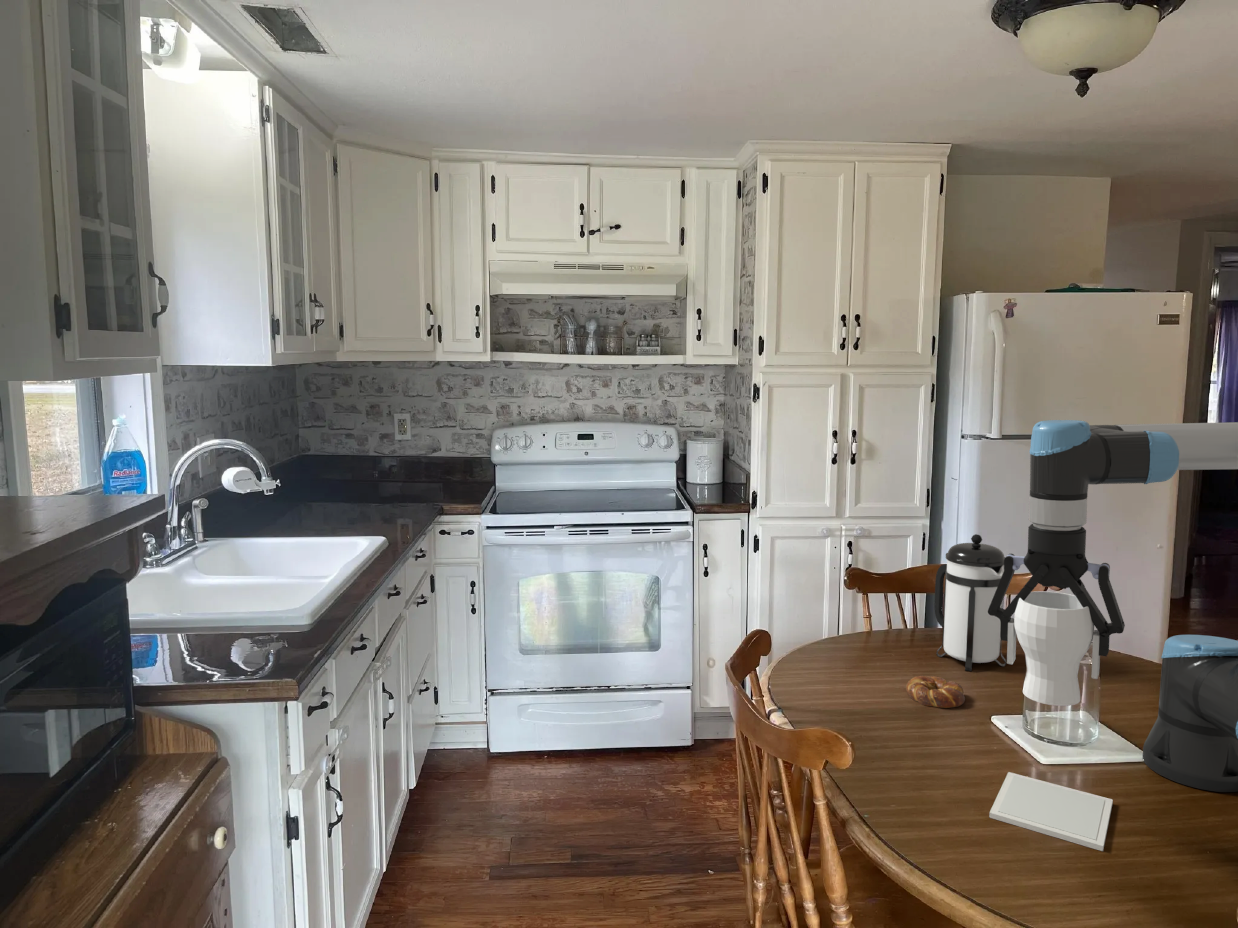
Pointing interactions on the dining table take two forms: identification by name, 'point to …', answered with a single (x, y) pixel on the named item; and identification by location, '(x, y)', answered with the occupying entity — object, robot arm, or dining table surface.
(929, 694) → the brown braided bread ring
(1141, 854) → the dining table surface
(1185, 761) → the robot arm
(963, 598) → the coffee press
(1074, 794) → the coaster
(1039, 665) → the cup
